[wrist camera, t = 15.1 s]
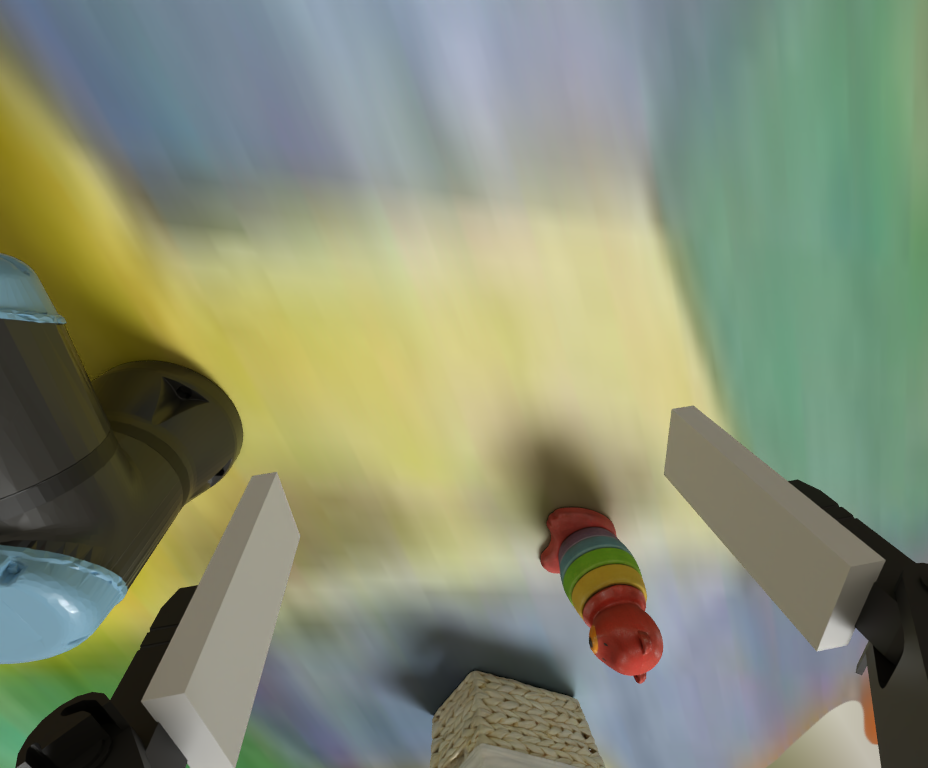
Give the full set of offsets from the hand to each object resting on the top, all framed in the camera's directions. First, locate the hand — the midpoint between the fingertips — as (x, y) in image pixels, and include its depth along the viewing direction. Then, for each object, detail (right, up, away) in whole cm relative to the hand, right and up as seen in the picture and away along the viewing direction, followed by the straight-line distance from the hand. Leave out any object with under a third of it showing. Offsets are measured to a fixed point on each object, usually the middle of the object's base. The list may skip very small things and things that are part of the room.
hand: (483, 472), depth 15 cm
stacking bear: (+15, -18, +45) cm, 51 cm away
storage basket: (+6, -52, +61) cm, 80 cm away
